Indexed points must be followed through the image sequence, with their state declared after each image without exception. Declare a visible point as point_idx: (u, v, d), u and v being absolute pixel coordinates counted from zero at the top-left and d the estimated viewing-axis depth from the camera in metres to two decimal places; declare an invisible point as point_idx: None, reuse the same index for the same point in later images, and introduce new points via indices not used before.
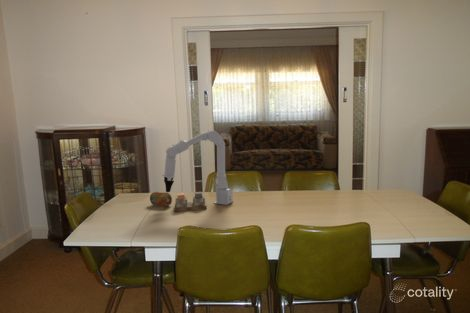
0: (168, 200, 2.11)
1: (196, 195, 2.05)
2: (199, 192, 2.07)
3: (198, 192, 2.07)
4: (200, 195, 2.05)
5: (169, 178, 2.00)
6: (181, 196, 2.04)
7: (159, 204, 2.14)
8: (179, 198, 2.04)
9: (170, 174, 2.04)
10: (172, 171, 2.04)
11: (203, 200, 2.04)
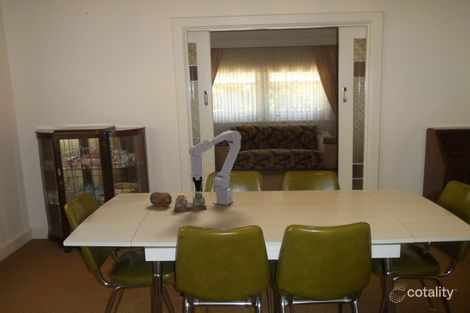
0: (168, 200, 2.11)
1: (196, 195, 2.05)
2: (199, 192, 2.07)
3: (198, 192, 2.07)
4: (200, 195, 2.05)
5: (197, 177, 1.98)
6: (181, 196, 2.04)
7: (159, 204, 2.14)
8: (179, 198, 2.04)
9: (198, 173, 2.02)
10: (199, 170, 2.02)
11: (203, 200, 2.04)
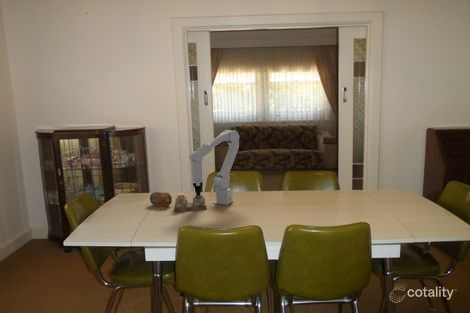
0: (168, 200, 2.11)
1: (196, 197, 2.05)
2: None
3: None
4: (200, 197, 2.05)
5: (198, 183, 1.98)
6: (181, 196, 2.04)
7: (159, 204, 2.14)
8: (179, 198, 2.04)
9: (198, 179, 2.03)
10: (200, 175, 2.03)
11: (203, 200, 2.04)
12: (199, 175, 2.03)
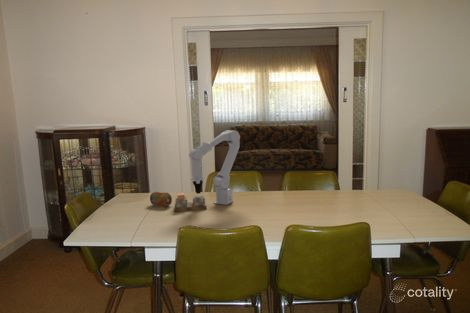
0: (168, 200, 2.11)
1: None
2: (199, 196, 2.08)
3: (198, 196, 2.08)
4: None
5: (198, 181, 1.98)
6: (181, 196, 2.04)
7: (159, 204, 2.14)
8: (179, 198, 2.04)
9: (198, 177, 2.03)
10: (199, 173, 2.03)
11: (203, 200, 2.04)
12: (199, 173, 2.03)
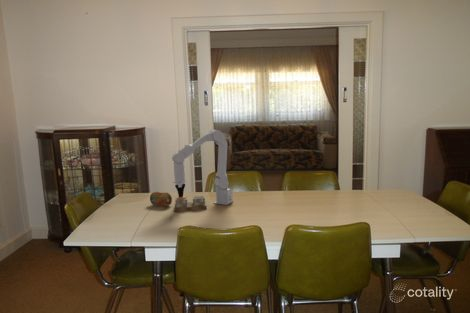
0: (168, 200, 2.11)
1: None
2: (199, 196, 2.08)
3: (198, 196, 2.08)
4: None
5: (179, 185, 1.97)
6: (181, 199, 2.04)
7: (159, 204, 2.14)
8: None
9: (180, 180, 2.01)
10: (182, 177, 2.02)
11: (203, 200, 2.04)
12: (181, 177, 2.01)
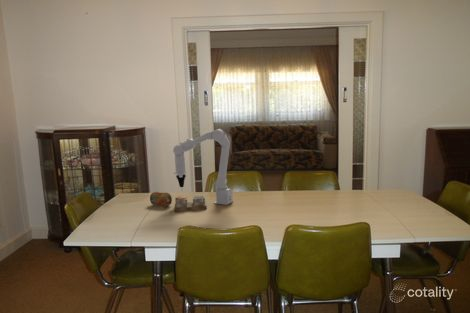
0: (168, 200, 2.11)
1: None
2: (199, 196, 2.08)
3: (198, 196, 2.08)
4: None
5: (180, 175, 2.07)
6: (181, 199, 2.04)
7: (159, 204, 2.14)
8: None
9: (181, 171, 2.12)
10: (182, 168, 2.12)
11: (203, 200, 2.04)
12: (182, 167, 2.12)
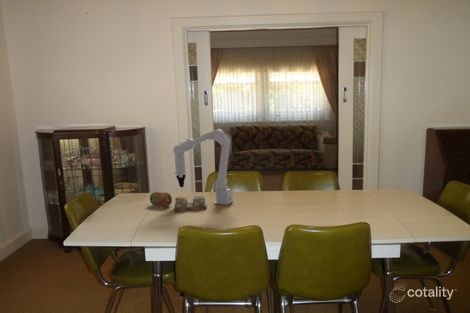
0: (168, 200, 2.11)
1: None
2: (199, 196, 2.08)
3: (198, 196, 2.08)
4: None
5: (180, 175, 2.07)
6: (181, 199, 2.04)
7: (159, 204, 2.14)
8: None
9: (181, 171, 2.12)
10: (182, 168, 2.12)
11: (203, 200, 2.04)
12: (182, 167, 2.12)
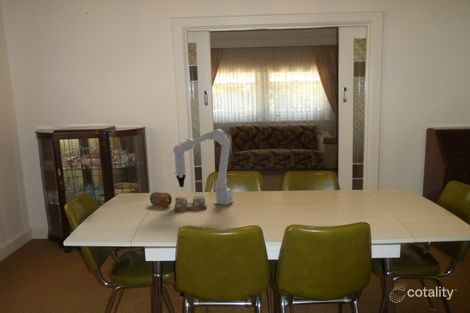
0: (168, 200, 2.11)
1: None
2: (199, 196, 2.08)
3: (198, 196, 2.08)
4: None
5: (180, 175, 2.07)
6: (181, 199, 2.04)
7: (159, 204, 2.14)
8: None
9: (181, 171, 2.12)
10: (182, 168, 2.12)
11: (203, 200, 2.04)
12: (182, 167, 2.12)
